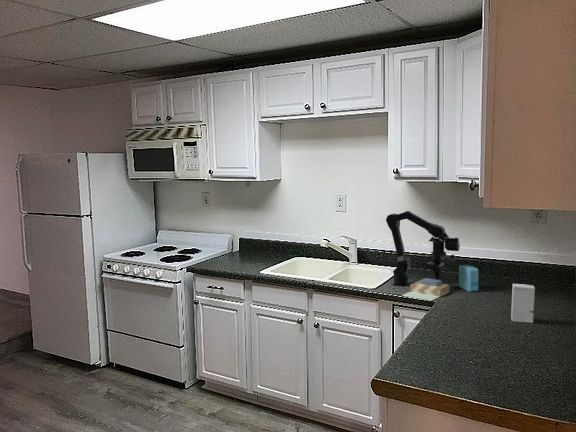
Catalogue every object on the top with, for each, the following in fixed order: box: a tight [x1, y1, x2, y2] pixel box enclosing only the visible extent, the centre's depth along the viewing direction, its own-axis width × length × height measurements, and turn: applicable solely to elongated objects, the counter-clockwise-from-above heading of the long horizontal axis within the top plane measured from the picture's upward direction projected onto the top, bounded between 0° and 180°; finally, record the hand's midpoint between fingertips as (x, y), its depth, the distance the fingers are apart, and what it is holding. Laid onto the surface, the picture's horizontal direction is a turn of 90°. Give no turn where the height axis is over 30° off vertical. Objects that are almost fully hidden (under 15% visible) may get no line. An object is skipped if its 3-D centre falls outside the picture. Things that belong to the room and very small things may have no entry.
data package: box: [458, 264, 479, 293], centre depth 256 cm, size 12×4×12 cm, turn 9°
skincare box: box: [510, 283, 536, 324], centre depth 203 cm, size 8×6×15 cm
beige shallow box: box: [409, 280, 450, 298], centre depth 252 cm, size 16×11×4 cm
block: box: [419, 277, 443, 286], centre depth 253 cm, size 9×6×2 cm, turn 48°
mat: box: [401, 291, 440, 302], centre depth 245 cm, size 16×9×1 cm, turn 48°
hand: (438, 279), depth 259 cm, fingers closed
